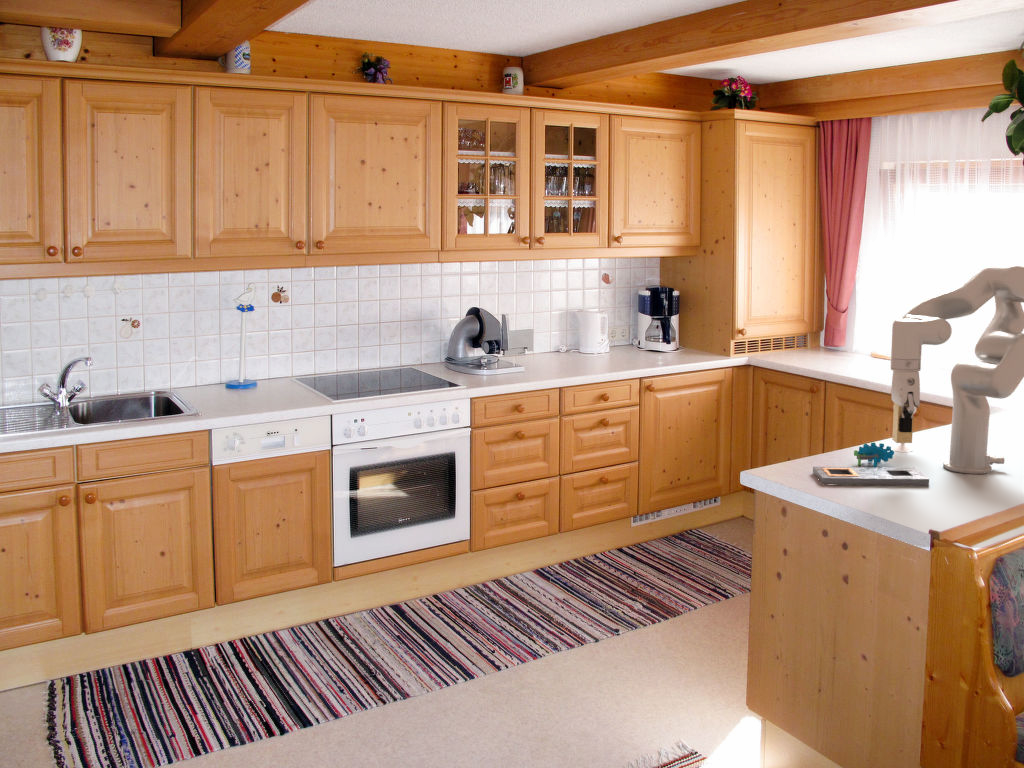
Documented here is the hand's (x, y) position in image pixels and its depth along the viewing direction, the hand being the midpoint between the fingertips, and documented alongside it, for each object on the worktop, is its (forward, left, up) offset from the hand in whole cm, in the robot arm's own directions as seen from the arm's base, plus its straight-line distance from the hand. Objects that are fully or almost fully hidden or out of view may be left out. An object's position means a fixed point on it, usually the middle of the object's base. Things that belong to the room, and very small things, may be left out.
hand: (902, 429), depth 254 cm
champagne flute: (-12, -36, -15) cm, 40 cm away
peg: (0, 0, -3) cm, 3 cm away
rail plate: (+8, 0, -14) cm, 17 cm away
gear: (+3, -16, -15) cm, 22 cm away
